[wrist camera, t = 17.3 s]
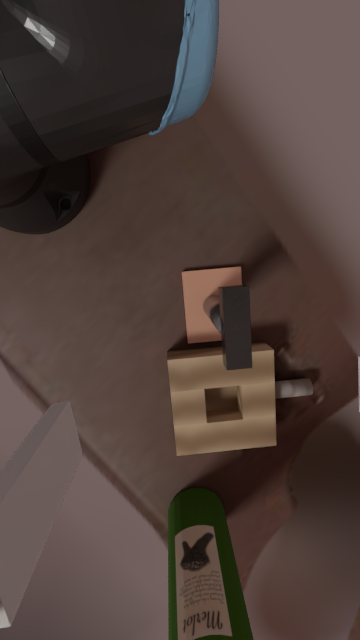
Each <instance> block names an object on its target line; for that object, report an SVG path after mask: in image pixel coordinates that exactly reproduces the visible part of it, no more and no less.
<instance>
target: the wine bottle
mask: <svg viewBox="0 0 360 640" xmlns="http://www.w3.org/2000/svg"><path fill="white" fill-rule="evenodd" d="M168 565H169V567H168V573H169V574H168V575H169V576H168V578H169V580H168V583H169V585H168V586H169V640H253V636H252V631H251V627H250V623H249V618H248V614H247V610H246V605H245V601H244V596H243V592H242V587H241V583H240V578H239V574H238V570H237V565H236V561H235V556H234V552H233V548H232V543H231V539H230V534H229V530H228V526H227V521H226V517H225V512H224V508H223V504H222V502H221V501H220V499H219V497H218V496H217V495H216V494H215V493H213V492H212V491H210V490H208V489H205V488H201V487H193V488H189V489H185V490H184V491H182V492H180V493H179V494H177V495H176V496H175V497H174V499H173V500H172V502H171V504H170V507H169V510H168Z"/></svg>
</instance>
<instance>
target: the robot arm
mask: <svg viewBox="0 0 360 640" xmlns="http://www.w3.org/2000/svg"><path fill="white" fill-rule="evenodd" d="M218 25H219V0H0V227H3V228H5V229H8V230H11V231H15V232H20V233H25V234H44V233H49V232H52V231H55V230H57V229H60V228H61V227H63V226H65V225H66V224H68V223H69V222H70V221H71V220H72V219H73V218H74V217H75V216H76V215H77V214H78V213H79V211H80V210H81V208H82V206H83V204H84V202H85V200H86V197H87V195H88V191H89V185H90V167H89V161H88V157H87V153H90V152H93V151H96V150H99V149H102V148H105V147H108V146H111V145H114V144H117V143H120V142H123V141H126V140H129V139H132V138H135V137H138V136H141V135H144V134H147V133H148V134H150V135H154V134H157V133H159V132H160V131H161V130H162V129H163V128H164V127H167V126H169V125H172V124H175V123H177V122H180V121H182V120H185V119H187V118H189V117H191V116H192V115H194V114H195V113H196V112H197V111H198V109H199V107H200V106H201V105H202V104H203V103H204V101H205V99H206V97H207V94H208V92H209V89H210V86H211V82H212V78H213V73H214V68H215V61H216V52H217V42H218ZM358 367H359V412H360V356H358ZM82 455H83V454H82V450H81V446H80V442H79V438H78V433H77V429H76V425H75V421H74V417H73V413H72V409H71V404H70V400H69V401H63V402H56V403H52V404H51V406H50V407H49V408H48V410H47V411H46V412H45V413H44V415H43V416H42V417H41V419H40V420H39V421H38V423H37V424H36V425H35V427H34V428H33V429H32V430H31V432H30V433H29V434H28V436H27V437H26V438H25V439H24V441H23V442H22V444H21V445H20V446H19V447H18V449H17V450H16V451H15V452H14V454H13V455H12V456H11V458H10V459H9V460H8V462H7V463H6V464H5V466H4V467H3V468H2V470H1V471H0V628H4V627H10V626H11V624H12V622H13V619H14V617H15V615H16V612H17V610H18V607H19V605H20V603H21V600H22V598H23V595H24V593H25V591H26V588H27V586H28V584H29V581H30V579H31V576H32V574H33V571H34V569H35V567H36V564H37V562H38V560H39V557H40V555H41V552H42V550H43V548H44V545H45V543H46V541H47V538H48V536H49V533H50V531H51V529H52V526H53V524H54V521H55V519H56V517H57V514H58V512H59V510H60V507H61V505H62V502H63V500H64V497H65V495H66V493H67V490H68V488H69V485H70V483H71V481H72V478H73V476H74V473H75V471H76V469H77V466H78V464H79V461H80V459H81V457H82Z"/></svg>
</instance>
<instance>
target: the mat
mask: <svg viewBox="0 0 360 640" xmlns="http://www.w3.org/2000/svg"><path fill="white" fill-rule="evenodd" d="M182 280H183V292H184V304H185V316H186V327H187V339H188V344H189V343H199V342H210V341H220V340H222V339H221V334H220V333H219V331H218V330H217V329H216V327H215V326H214V324H213V323H212V322H211V320H210V319H209V318H208V316H207V315H206V313H205V312H204V310H203V303H204V300H205V299H206V298H207V297H209V296H211V295H216V296H219V290H218V287H223V286H234V285H242V277H241V267H229V268H218V269H207V270H196V271H185V272H182Z"/></svg>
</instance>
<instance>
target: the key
mask: <svg viewBox="0 0 360 640" xmlns="http://www.w3.org/2000/svg"><path fill="white" fill-rule="evenodd" d="M218 290H219V296H216V295H211V296H209V297H207V298H206V299H205V300H204V303H203V310H204V312H205V313H206V315H207V316H208V318H209V319H210V320H211V322H212V323H213V324H214V326H215V327H216V329H217V330H218V331H219V333H220V334H221V339H222V355H223V364H224V366H225V368H226V370H237V369H247V368H252V344H251V320H250V296H249V286H246V285H234V286H223V287H218Z"/></svg>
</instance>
